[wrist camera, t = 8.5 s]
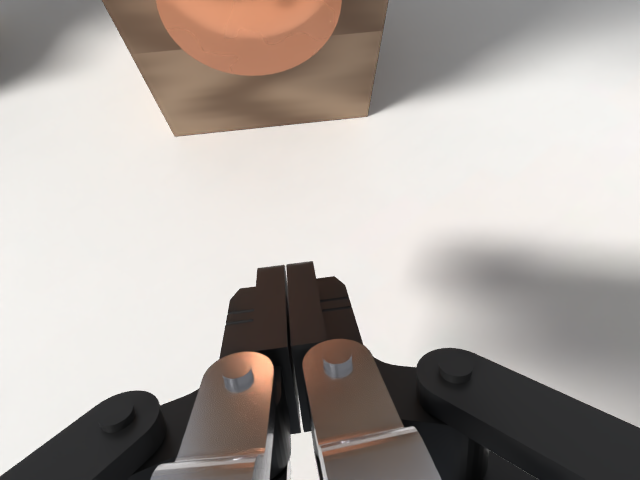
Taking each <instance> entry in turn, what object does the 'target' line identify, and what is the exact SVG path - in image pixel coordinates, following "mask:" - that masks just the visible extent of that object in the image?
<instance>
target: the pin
mask: <svg viewBox="0 0 640 480" xmlns="http://www.w3.org/2000/svg"><path fill="white" fill-rule="evenodd" d="M156 4H157V9H158V12H159V15H160V18H161V20H162V22H163V25H164V27H165V29H166V30H167V32H168V33H169V35H170V36H171V38H172V39H173V40H174V41H175V42H176V43H177V44H178V46H179V47H181V48H182V49H183V50H184V51H185V52H186V53H187V54H189V55H190V56H191V57H193V58H194V59H196V60H198V61H199V62H201V63H203V64H205V65H207V66H209V67H211V68H214V69H216V70H219V71H222V72H226V73H231V74H236V75H245V76H260V75H269V74H274V73H278V72H282V71H285V70H288V69H291V68H293V67H295V66H297V65H299V64H301V63H303V62H305V61H306V60H308V59H309V58H310V57H312V56H313V55H314V54H316V53H317V52H318V51H319V50H320V49H321V48H322V47H323V46H324V44H325V43H326V42H327V41H328V39H329V38H330V36H331V35H332V33H333V31H334V29H335V27H336V25H337V22H338V19H339V16H340V12H341V4H342V0H156Z"/></svg>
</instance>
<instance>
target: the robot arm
mask: <svg viewBox="0 0 640 480" xmlns="http://www.w3.org/2000/svg"><path fill="white" fill-rule="evenodd" d="M287 283H288V285H287ZM298 396H299V399H298ZM299 403H300V410H301V416H302V423H303V430H304V432H308V431H311V432H312V439H313V446H314V453H315V460H316V467H317V472H318V478H319V480H640V428H638V427H636V426H634V425H632V424H630V423H627V422H625V421H623V420H621V419H618V418H616V417H614V416H612V415H610V414H607V413H605V412H603V411H601V410H599V409H596V408H594V407H592V406H590V405H587V404H585V403H583V402H581V401H579V400H576V399H574V398H572V397H570V396H568V395H565V394H563V393H561V392H559V391H556V390H554V389H552V388H550V387H548V386H545V385H543V384H541V383H539V382H537V381H534V380H532V379H530V378H528V377H525V376H523V375H521V374H519V373H517V372H514V371H512V370H510V369H508V368H506V367H503V366H501V365H499V364H497V363H494V362H492V361H490V360H488V359H486V358H483V357H481V356H479V355H477V354H475V353H472V352H469V351H466V350H462V349H456V348H442V349H437V350H434V351H431V352H429V353H427V354H425V355H424V356H423V357H422V358H421V359H420V360H419V362H418V364H417V368H416V367H405V366H397V365H391V364H387V363H384V362H382V361H380V360H378V359H376V358H374V357H373V356H372V354H371V352H370V351H369V350H368V349H367V348H366V347H365V346H364V345H363V343H362V339H361V336H360V333H359V329H358V326H357V323H356V319H355V316H354V313H353V310H352V307H351V303H350V300H349V297H348V293H347V290H346V287H345V285H344V284H343V283H342V282H341V281H339V280H338V279H337V278H336V277H335V276H333V277H325V278H318V279H316V276H315V270H314V265H313V261H310V262H302V263H294V264H287V278H286V271H285V266H284V265H279V266H272V267H264V268H258V269H257V280H256V287H249V288H241V289H239V290H238V291H237V293H236V294H235V295H234V296H233V297H232V298H231V300H230V303H229V309H228V315H227V320H226V325H225V331H224V337H223V342H222V348H221V353H220V359H219V360H218V361H216V362H215V363H214V364H213V365H211V366H210V367H209V368H208V370H207V371H206V373H205V374H204V376H203V379H202V382H201V385H200V388H199V389H198V390H196V391H194V392H193V393H191V394H189V395H186V396H184V397H181V398H179V399H176V400H174V401H171V402H168V403H166V404H163V405H160V404H159V402H158V399H157V398H156V397H155V396H154V395H153V394H151V393H149V392H146V391H128V392H124V393H120V394H117V395H115V396H112V397H110V398H108V399H106V400H104V401H103V402H101V403H100V404H98V405H97V406H95V407H94V408H92V409H91V410H90V411H88V412H87V413H86V414H84V415H83V416H82V417H80V418H79V419H78V420H76V421H75V422H73V423H72V424H71V425H69V426H68V427H67V428H65V429H64V430H63V431H61V432H60V433H59V434H57V435H56V436H54V437H53V438H52V439H50V440H49V441H48V442H46V443H45V444H44V445H42V446H41V447H40V448H38V449H37V450H35V451H34V452H33V453H31V454H30V455H29V456H27V457H26V458H25V459H23V460H22V461H21V462H19V463H18V464H16V465H15V466H14V467H12V468H11V469H10V470H8V471H7V472H6V473H4V474H3V475H2V476H0V480H291V464H290V455H291V438H290V434H296V433H301V428H300V414H299ZM493 452H494V453H493ZM498 455H499V456H498ZM503 458H504V459H503ZM508 461H509V462H508ZM513 464H514V465H513ZM518 467H519V468H518ZM523 470H524V471H523ZM528 473H529V474H528ZM531 475H532V476H531ZM536 478H537V479H536Z"/></svg>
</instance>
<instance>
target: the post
mask: <svg viewBox="0 0 640 480" xmlns="http://www.w3.org/2000/svg"><path fill="white" fill-rule="evenodd" d="M102 2H103V3H104V5H105V7H106V9H107V11H108V13H109V15H110V16H111V18H112V20H113V22H114V24H115V26H116V28H117V30H118V31H119V33H120V35H121V37H122V39H123V41H124V43H125V44H126V46H127V48H128V50H129V52H130V54H131V56H132V58H133V59H134V61H135V63H136V65H137V67H138V69H139V71H140V73H141V74H142V76H143V78H144V80H145V82H146V84H147V86H148V87H149V89H150V91H151V93H152V95H153V97H154V99H155V101H156V102H157V104H158V106H159V108H160V110H161V112H162V114H163V115H164V117H165V119H166V121H167V123H168V125H169V127H170V129H171V130H172V132H173V134H174V136H184V135H193V134H203V133H212V132H222V131H232V130H241V129H251V128H261V127H270V126H280V125H289V124H299V123H309V122H318V121H328V120H337V119H347V118H357V117H366V116H368V111H369V105H370V100H371V94H372V89H373V83H374V78H375V72H376V66H377V61H378V55H379V50H380V44H381V39H382V33H383V28H384V22H385V17H386V11H387V6H388V0H342V4H341V12H340V16H339V19H338V22H337V25H336V27H335V29H334V31H333V33H332V35H331V36H330V38H329V39H328V41H327V42H326V43H325V44H324V46H323V47H322V48H321V49H320V50H319V51H318V52H317V53H316V54H314V55H313V56H312V57H310V58H309V59H308V60H306V61H305V62H303V63H301V64H299V65H297V66H295V67H293V68H291V69H288V70H285V71H282V72H278V73H274V74H269V75H260V76H245V75H236V74H231V73H226V72H222V71H219V70H216V69H214V68H211V67H209V66H207V65H205V64H203V63H201V62H199V61H198V60H196V59H194V58H193V57H191V56H190V55H189V54H187V53H186V52H185V51H184V50H183V49H182V48H181V47H179V46H178V44H177V43H176V42H175V41H174V40H173V39H172V38H171V36H170V35H169V33H168V32H167V30H166V29H165V27H164V25H163V22H162V20H161V18H160V15H159V12H158V9H157V4H156V0H102Z"/></svg>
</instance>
